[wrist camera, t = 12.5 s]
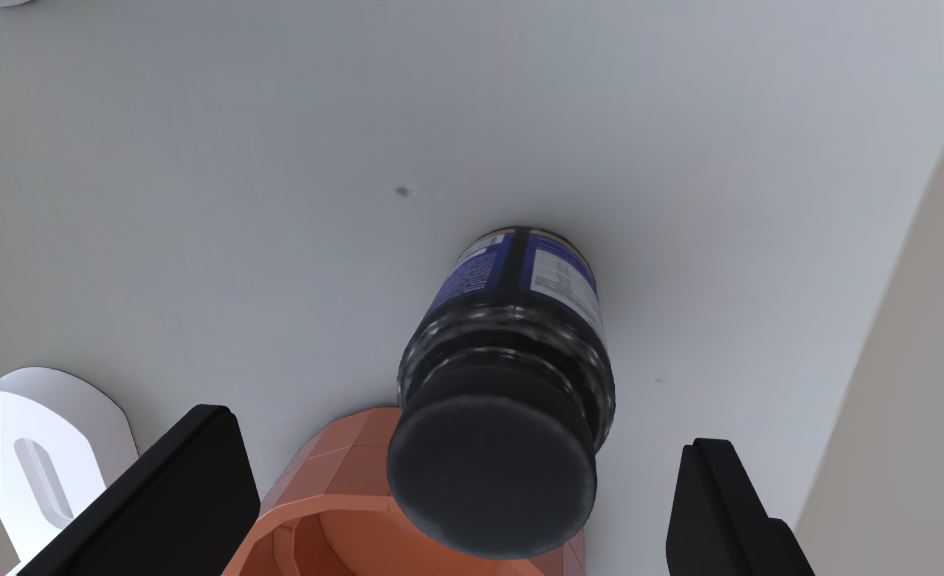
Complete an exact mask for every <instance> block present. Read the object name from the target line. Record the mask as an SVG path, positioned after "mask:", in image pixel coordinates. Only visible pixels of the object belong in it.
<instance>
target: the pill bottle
mask: <svg viewBox="0 0 944 576" xmlns="http://www.w3.org/2000/svg"><path fill="white" fill-rule="evenodd" d="M397 397H398V405H399V407H400V419H399V421H398V423H397V426H396V428H395V431H394V433H393V435H392V437H391V439H390V443H389V446H388V451H387V457H386V473H387V481H388V484H389V487H390V490H391V493H392V495H393V497H394V500H395V501H396V503H397V505H398V506H399V508H400V509H401V510H402V512H403V513H404V514H405V515H406V516H407V518H408V519H409V520H410V521H411V522H412V523H413V524H414V525H415V527H417V528H418V529H419V530H421V531H422V532H423V533H425V534H426V535H427V536H428V537H429V538H431V539H433V540H435V541H436V542H438V543H440V544H442V545H444V546H445V547H447V548H449V549H452V550H454V551H457V552H461V553H464V554H467V555H470V556H474V557H478V558H483V559H489V560H516V559H527V558H531V557H535V556H539V555H542V554H545V553H548V552H549V551H552V550H555V549H557V548H558V547H561V546H563V545H564V543H565V542H566V541H567V540H569V539H571V538H573V537H574V536H575V535H576V533H578V532H579V531H580V530H581V528H582V527H583V526H584V525H585V523H586V521H587V519H589V516H590V513H591V511H592V509H593V505H594V502H595V497H596V491H597V473H596V460H595V455H596V454H597V452H598V451H599V450H600V448H601V447H602V445H603V443H604V442H605V440H606V438H607V435H608V434H609V430H610V428H611V425H612V423H613V418H614V417H613V416H614V414H615V407H616V403H615V384H614V378H613V375H612V370H611V364H610V359H609V355H608V349H607V344H606V339H605V334H604V329H603V323H602V317H601V312H600V307H599V302H598V297H597V291H596V283H595V280H594V277H593V274H592V271H591V269H590V266H589V264H588V263H587V261H586V260H585V258H584V257H583V256H582V255H581V254H580V252H579V251H578V250H577V249H576V248H575V247H574V246H573V245H572V243H570V242H569V241H568V240H567V239H565V238H564V237H562V236H559V235H557V234H555V233H553V232H550V231H548V230H545V229H541V228H533V227H522V226H509V227H504V228H500V229H498V230H494V231H492V232H490V233H488V234H485V235H483V236H481V237H480V238H478V239H477V240H476V241H475V242H473V243H472V244H471V245H470V246H469V247H468V248H467V249H466V250H465V251H464V252H463V253H462V254H461V255H460V257H459V258H458V260H457V262H456V264H455V265H454V267H453V269H452V271H451V272H450V274H449V276H448V277H447V279H446V280H445V282H444V284H443V286H442V287H441V289H440V291H439V292H438V294H437V296H436V298H435V299H434V301H433V303H432V304H431V306H430V308H429V309H428V311H427V313H426V315H425V316H424V318H423V320H422V321H421V323H420V325H419V326H418V328H417V330H416V332H415V333H414V335H413V337H412V338H411V340H410V341H409V343H408V345H407V347H406V349H405V351H404V354H403V356H402V360H401V362H400V366H399V373H398V377H397Z"/></svg>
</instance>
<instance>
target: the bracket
mask: <svg viewBox="0 0 944 576" xmlns="http://www.w3.org/2000/svg"><path fill="white" fill-rule="evenodd" d="M138 459H139V456H138V453H137V450H136V447H135V443H134V440H133V437H132V434H131V431H130V427H129V424H128V421H127V418H126V416H125V414H124V413H123V411H122V410H121V409H120V408H119V407H118V406H117V405H116V404H115V403H114V402H113V401H112V400H110V399H109V398H108V397H107V396H106V395H104V394H103V393H102V392H100V391H99V390H98V389H96V388H95V387H93V386H91V385H90V384H88V383H86V382H85V381H83V380H81V379H79V378H77V377H74V376H72V375H70V374H67V373H64V372H62V371H58V370H54V369H50V368H43V367H27V368H21V369H18V370H15V371H13V372H11V373H9V374H7V375H5V376H3V377H1V378H0V519H1V521H2V523H3V525H4V527H5V529H6V531H7V533H8V535H9V537H10V539H11V541H12V543H13V545H14V547H15V550H16V552H17V554H18V556H19V558H20V560H21V563H19V564H18V565H17V566H16V567H15V568H14V569H13V570H11V571H10V572H9V573H8V574H7V575H6V576H17V575H16V574H17V573H18V572H19V571H20V570H21V569H22V568H23V567H24V566H25V565H26V564H27V563H29V562H30V561H31V560H32V559H33V558H34V557H35V556H36V555H37V554H38V553H39V552H40V551H41V550H42V549H43V548H44V547H46V546H47V545H48V544H49V543H50V542H51V541H52V540H53V539H54V538H55V537H56V536H57V535H58V534H59V533H60V532H61V531H63V530H64V529H65V528H66V527H67V526H68V525H69V524H70V523H71V522H72V521H73V520H74V519H75V518H76V517H77V516H78V515H80V514H81V513H82V512H83V511H84V510H85V509H86V508H87V507H88V506H89V505H90V504H91V503H92V502H93V501H94V500H95V499H97V498H98V497H99V496H100V495H101V494H102V493H103V492H104V491H105V490H106V489H107V488H108V487H109V486H110V485H111V484H112V483H113V482H115V481H116V480H117V479H118V478H119V477H120V476H121V475H122V474H123V473H124V472H125V471H126V470H127V469H128V468H129V467H130V466H132V465H133V464H134V463H135V462H136V461H137V460H138Z"/></svg>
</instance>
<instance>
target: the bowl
mask: <svg viewBox="0 0 944 576" xmlns="http://www.w3.org/2000/svg"><path fill="white" fill-rule="evenodd" d="M399 419H400V407H376V408H372V409H369V410H366V411H363V412H360V413H357V414H354V415H350V416H347V417H344V418H341V419H338V420H335V421H333V422H331V423H330V424H329V425H327V426H326V427H325V428H324V429H322V430H321V431H320V432H319V433H318V434H316V435H315V436H314V437H313V438H311V439H310V440H309V441H308V442H306V443H305V444H304V445H303V446H302V447H301V448H300V450H299V451H298V453H297V454H296V455H295V457H294V458H293V459H292V461H291V462H290V464H289V465H288V466H287V468H286V469H285V470H284V472H283V473H282V475H281V476H280V477H279V479H278V480H277V481H276V483H275V484H274V486H273V487H272V488H271V490H270V491H269V492H268V494H267V495H266V496H265V498H264V499H263V501H262V502H261V503H260V504H261V508H260V513H259V516H258V519H257V520H256V522H255V524H254V525H253V527H252V528H251V530H250V531H249V533H248V534H247V536H246V538H245V539H244V541H243V542H242V544H241V545H240V547H239V548H238V550H237V551H236V553H235V554H234V556H233V557H232V559H231V561H230V562H229V564H228V565H227V567H226V568H225V570H224V576H586V569H585V551H584V536H583V527H582V528H581V530H580V531H579V532H578V533H576V535H575V536H574V537H573V538H571V539H569V540H567V541H566V542H565V543H564V545H563V546H561V547H558V548H557V549H555V550H552V551H549V552H548V553H545V554H542V555H539V556H535V557H531V558H527V559H516V560H489V559H483V558H478V557H474V556H470V555H467V554H464V553H461V552H457V551H454V550H452V549H449V548H447V547H445V546H444V545H442V544H440V543H438V542H436V541H435V540H433V539H431V538H429V537H428V536H427V535H426V534H425V533H423V532H422V531H421V530H419V529H418V528H417V527H415V525H414V524H413V523H412V522H411V521H410V520H409V519H408V518H407V516H406V515H405V514H404V513H403V512H402V510H401V509H400V508H399V506H398V505H397V503H396V501H395V500H394V497H393V495H392V493H391V490H390V487H389V484H388V481H387V473H386V457H387V451H388V446H389V443H390V439H391V437H392V435H393V433H394V431H395V428H396V426H397V423H398V421H399Z"/></svg>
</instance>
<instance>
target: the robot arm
mask: <svg viewBox="0 0 944 576" xmlns="http://www.w3.org/2000/svg"><path fill="white" fill-rule="evenodd" d="M27 1H30V0H0V8H1V7H8V6H15V5H21V4H23V3H25V2H27ZM260 508H261V504H260V499H259V495H258V492H257V488H256V485H255V481H254V478H253V474H252V471H251V467H250V464H249V460H248V457H247V453H246V449H245V446H244V442H243V439H242V435H241V432H240V428H239V425H238V421H237V418H236V416H235V415H234V414H233V413H231V412H230V409H229V408H228V407H227V406H222V405H207V404H199V405H196V406H195V407H193V408H192V409H191V410H190V411H189V412H188V413H187V414H186V415H185V416H184V417H183V418H181V419H180V420H179V421H178V422H177V423H176V424H175V425H174V426H173V427H172V428H171V429H170V430H169V431H168V432H167V433H166V434H164V435H163V436H162V437H161V438H160V439H159V440H158V441H157V442H156V443H155V444H154V445H153V446H152V447H151V448H150V449H149V450H147V451H146V452H145V453H144V454H143V455H142V456H141V457H140V458H139V459H138V460H137V461H136V462H135V463H134V464H133V465H132V466H130V467H129V468H128V469H127V470H126V471H125V472H124V473H123V474H122V475H121V476H120V477H119V478H118V479H117V480H116V481H115V482H113V483H112V484H111V485H110V486H109V487H108V488H107V489H106V490H105V491H104V492H103V493H102V494H101V495H100V496H99V497H98V498H97V499H95V500H94V501H93V502H92V503H91V504H90V505H89V506H88V507H87V508H86V509H85V510H84V511H83V512H82V513H81V514H80V515H78V516H77V517H76V518H75V519H74V520H73V521H72V522H71V523H70V524H69V525H68V526H67V527H66V528H65V529H64V530H63V531H61V532H60V533H59V534H58V535H57V536H56V537H55V538H54V539H53V540H52V541H51V542H50V543H49V544H48V545H47V546H46V547H44V548H43V549H42V550H41V551H40V552H39V553H38V554H37V555H36V556H35V557H34V558H33V559H32V560H31V561H30V562H29V563H27V564H26V565H25V566H24V567H23V568H22V569H21V570H20V571H19V572H18V573H17V574H16V575H17V576H221V574H222V573H223V571H224V570H225V568H226V567H227V565H228V564H229V562H230V561H231V559H232V557H233V556H234V554H235V553H236V551H237V550H238V548H239V547H240V545H241V544H242V542H243V541H244V539H245V538H246V536H247V534H248V533H249V531H250V530H251V528H252V527H253V525H254V524H255V522H256V520H257V519H258V516H259V513H260ZM666 558H667V564H668V568H669V572H670V576H815V574H814V572H813V570H812V568H811V567H810V565H809V563H808V561H807V559H806V557H805V555H804V553H803V551H802V550H801V548H800V546H799V544H798V542H797V540H796V538H795V537H794V534H793V533H792V531H791V530H790V528H789V527H788V525H787V524H786V523H785V522H784V521H783V520H781V519H777V518H768V516H767V514H766V512H765V510H764V508H763V506H762V504H761V502H760V499H759V497H758V495H757V493H756V491H755V489H754V487H753V485H752V483H751V481H750V479H749V477H748V475H747V473H746V471H745V469H744V467H743V465H742V463H741V461H740V459H739V457H738V455H737V453H736V451H735V449H734V447H733V445H732V444H731V442H730V441H728V440H722V439H707V438H696V439H695V440H694V442H693V445H685V446H684V448H683V452H682V457H681V463H680V468H679V474H678V479H677V485H676V490H675V496H674V501H673V507H672V512H671V518H670V523H669V529H668V534H667V540H666Z"/></svg>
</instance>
